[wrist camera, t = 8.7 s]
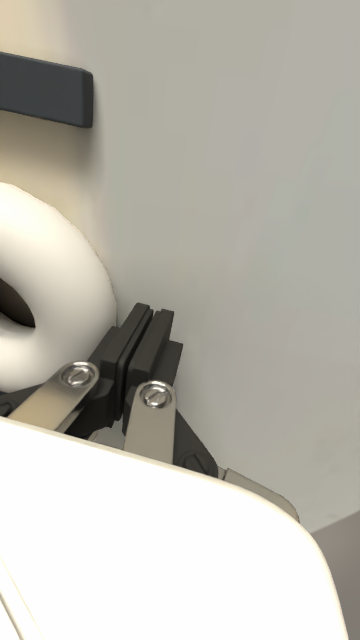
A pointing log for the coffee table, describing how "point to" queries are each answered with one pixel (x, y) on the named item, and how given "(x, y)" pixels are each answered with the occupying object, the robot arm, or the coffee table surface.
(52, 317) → the donut
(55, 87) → the frame
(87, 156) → the coffee table surface
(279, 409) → the coffee table surface
